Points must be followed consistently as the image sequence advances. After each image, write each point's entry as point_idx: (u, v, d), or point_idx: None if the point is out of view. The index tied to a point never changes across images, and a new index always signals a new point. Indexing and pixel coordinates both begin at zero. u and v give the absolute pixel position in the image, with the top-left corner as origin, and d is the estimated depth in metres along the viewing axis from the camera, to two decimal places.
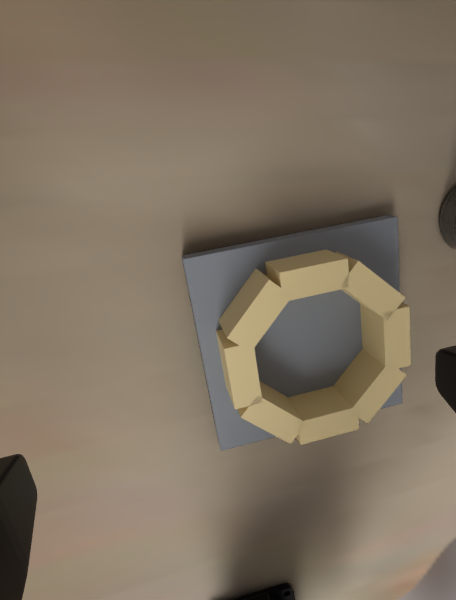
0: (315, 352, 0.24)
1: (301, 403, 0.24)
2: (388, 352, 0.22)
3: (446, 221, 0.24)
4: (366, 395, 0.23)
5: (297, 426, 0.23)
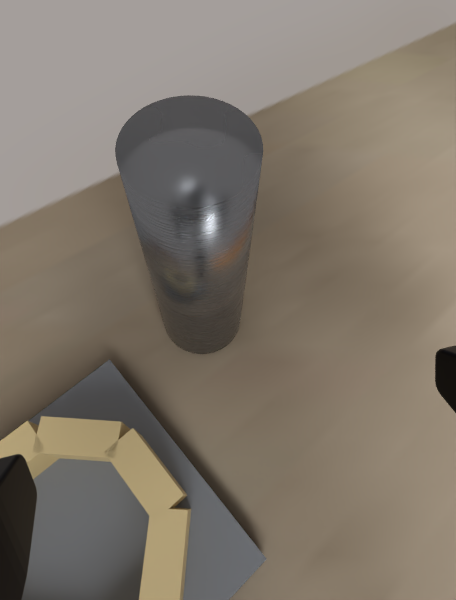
0: (97, 555, 0.18)
1: None
2: (141, 494, 0.17)
3: (170, 336, 0.23)
4: (148, 572, 0.16)
5: None
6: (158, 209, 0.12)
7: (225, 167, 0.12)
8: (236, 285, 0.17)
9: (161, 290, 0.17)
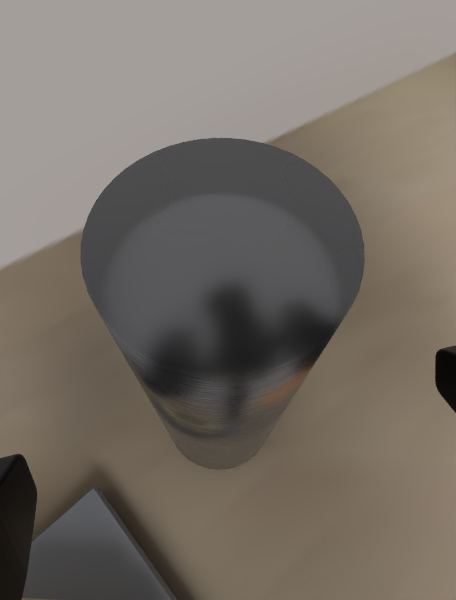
0: None
1: None
2: None
3: None
4: None
5: None
6: (165, 371, 0.06)
7: (296, 283, 0.06)
8: (281, 414, 0.11)
9: (167, 423, 0.11)
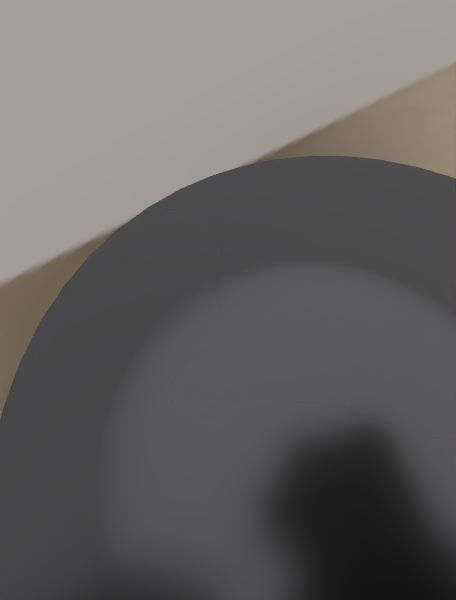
0: None
1: None
2: None
3: None
4: None
5: None
6: None
7: None
8: None
9: None
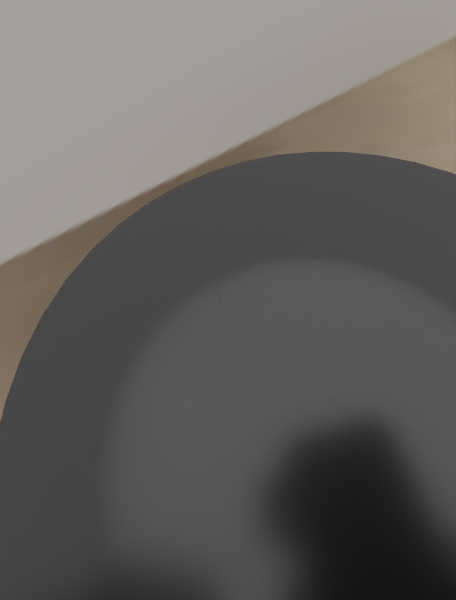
0: None
1: None
2: None
3: None
4: None
5: None
6: None
7: None
8: None
9: None
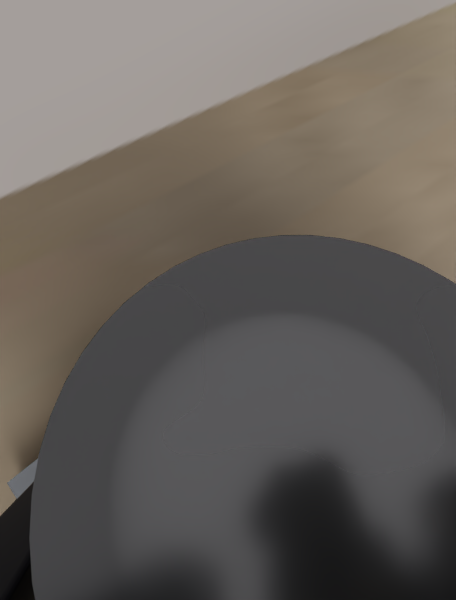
0: None
1: None
2: None
3: None
4: None
5: None
6: None
7: None
8: None
9: None
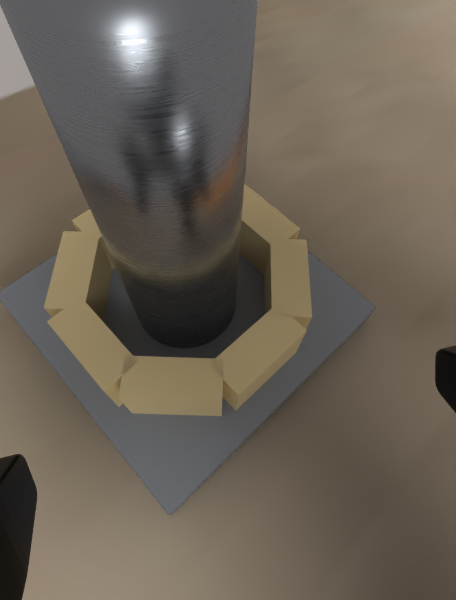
0: None
1: None
2: (259, 229, 0.17)
3: (143, 326, 0.17)
4: (277, 285, 0.16)
5: (212, 370, 0.14)
6: (67, 55, 0.06)
7: None
8: (226, 239, 0.12)
9: (115, 250, 0.12)
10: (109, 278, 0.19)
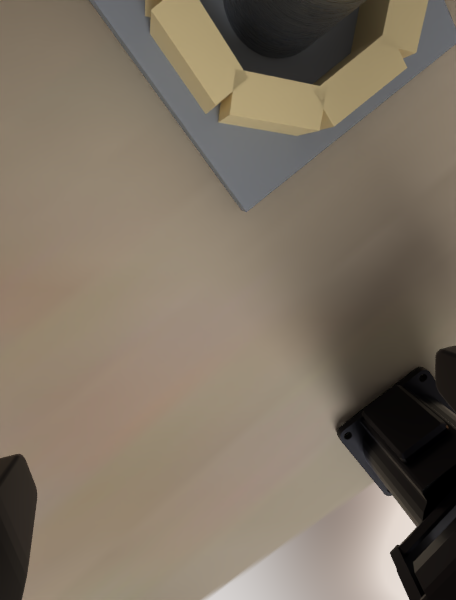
0: None
1: (314, 85, 0.17)
2: None
3: (236, 24, 0.16)
4: (394, 4, 0.15)
5: (316, 98, 0.15)
6: None
7: None
8: None
9: None
10: None
